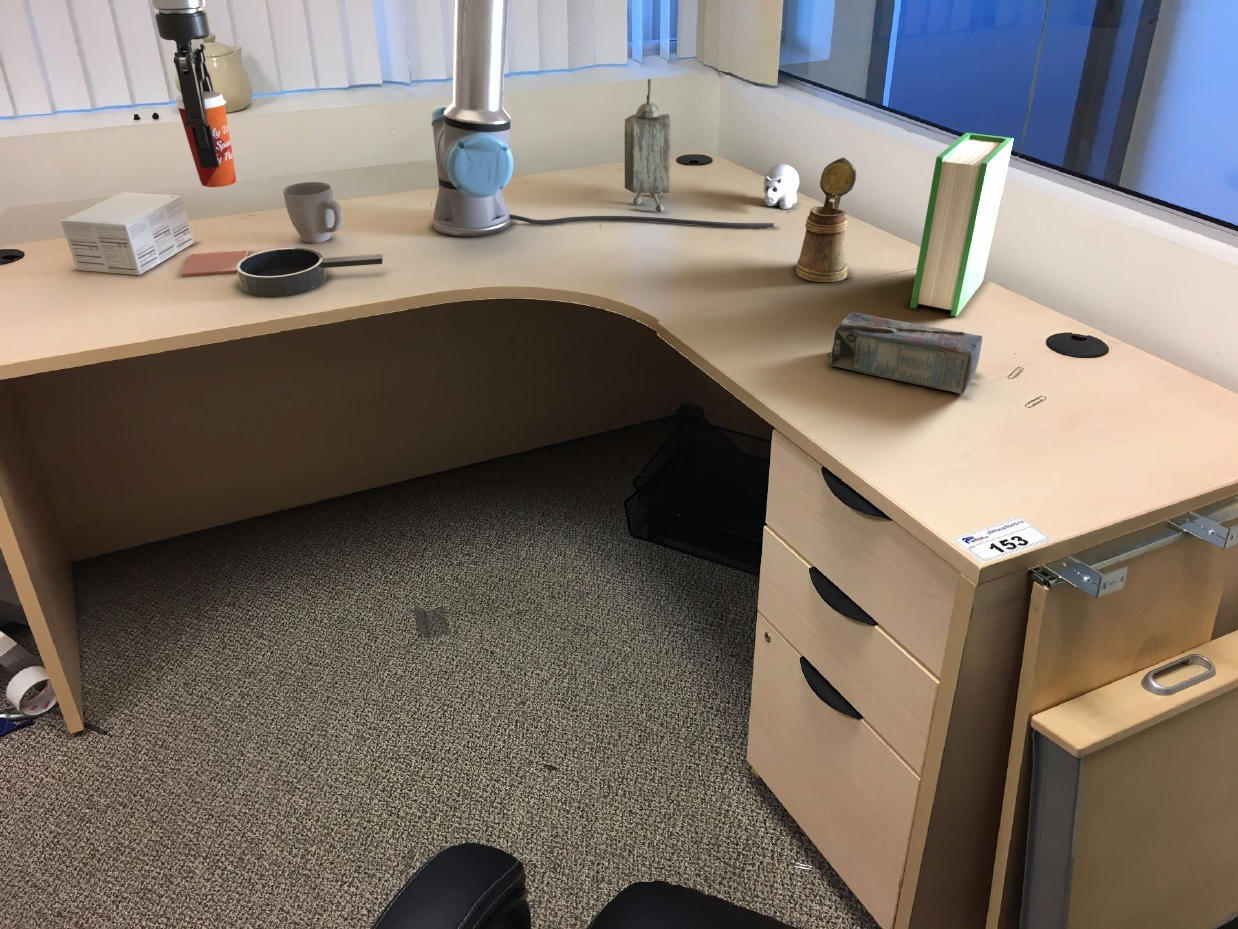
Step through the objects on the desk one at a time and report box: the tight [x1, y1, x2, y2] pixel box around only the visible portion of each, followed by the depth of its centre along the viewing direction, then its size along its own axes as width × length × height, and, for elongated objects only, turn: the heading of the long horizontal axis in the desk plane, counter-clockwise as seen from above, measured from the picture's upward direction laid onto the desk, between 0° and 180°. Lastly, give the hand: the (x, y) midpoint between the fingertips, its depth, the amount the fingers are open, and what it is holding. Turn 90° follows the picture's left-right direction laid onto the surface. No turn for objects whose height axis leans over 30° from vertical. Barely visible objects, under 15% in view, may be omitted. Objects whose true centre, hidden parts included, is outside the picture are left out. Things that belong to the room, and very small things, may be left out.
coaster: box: [180, 250, 249, 277], centre depth 170 cm, size 10×10×1 cm
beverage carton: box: [830, 311, 983, 395], centre depth 132 cm, size 8×19×7 cm, turn 61°
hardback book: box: [909, 132, 1015, 318], centre depth 151 cm, size 18×7×24 cm, turn 149°
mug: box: [282, 181, 344, 244], centre depth 179 cm, size 12×9×10 cm
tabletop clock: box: [624, 78, 671, 213], centre depth 193 cm, size 14×9×25 cm, turn 179°
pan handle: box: [323, 253, 384, 269], centre depth 164 cm, size 10×2×1 cm, turn 101°
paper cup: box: [175, 91, 237, 188], centre depth 155 cm, size 8×8×14 cm
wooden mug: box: [795, 157, 857, 283], centre depth 163 cm, size 9×14×18 cm, turn 157°
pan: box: [236, 247, 327, 298], centre depth 162 cm, size 14×14×4 cm
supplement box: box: [60, 191, 195, 276], centre depth 171 cm, size 17×13×9 cm
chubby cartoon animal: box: [763, 163, 800, 210], centre depth 195 cm, size 7×12×8 cm, turn 152°
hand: (214, 160), depth 157 cm, fingers closed on paper cup, 8 cm apart
